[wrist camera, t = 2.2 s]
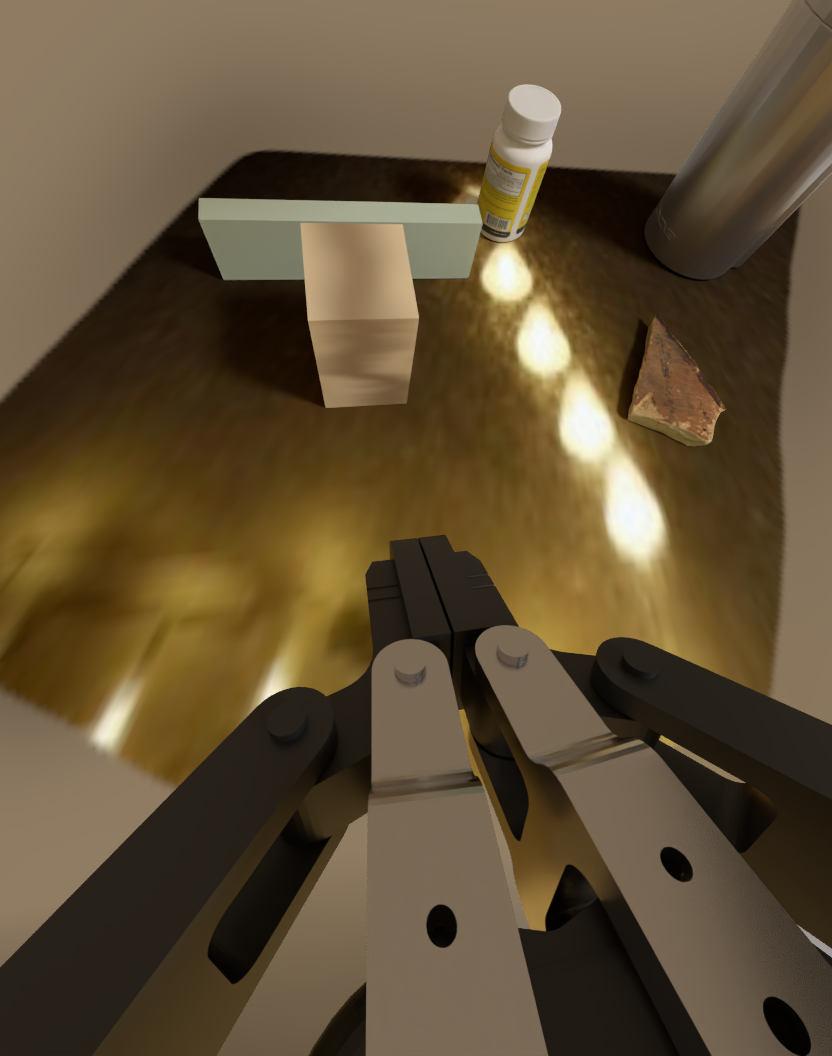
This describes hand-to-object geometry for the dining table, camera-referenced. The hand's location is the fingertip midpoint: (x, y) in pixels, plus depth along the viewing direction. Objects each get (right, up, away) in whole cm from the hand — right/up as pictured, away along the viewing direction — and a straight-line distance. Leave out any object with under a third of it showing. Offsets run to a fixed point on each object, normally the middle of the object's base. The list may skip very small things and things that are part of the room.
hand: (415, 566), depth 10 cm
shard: (+20, +12, +22) cm, 32 cm away
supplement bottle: (+8, +29, +25) cm, 39 cm away
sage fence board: (-5, +23, +21) cm, 31 cm away
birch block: (-4, +13, +19) cm, 23 cm away
